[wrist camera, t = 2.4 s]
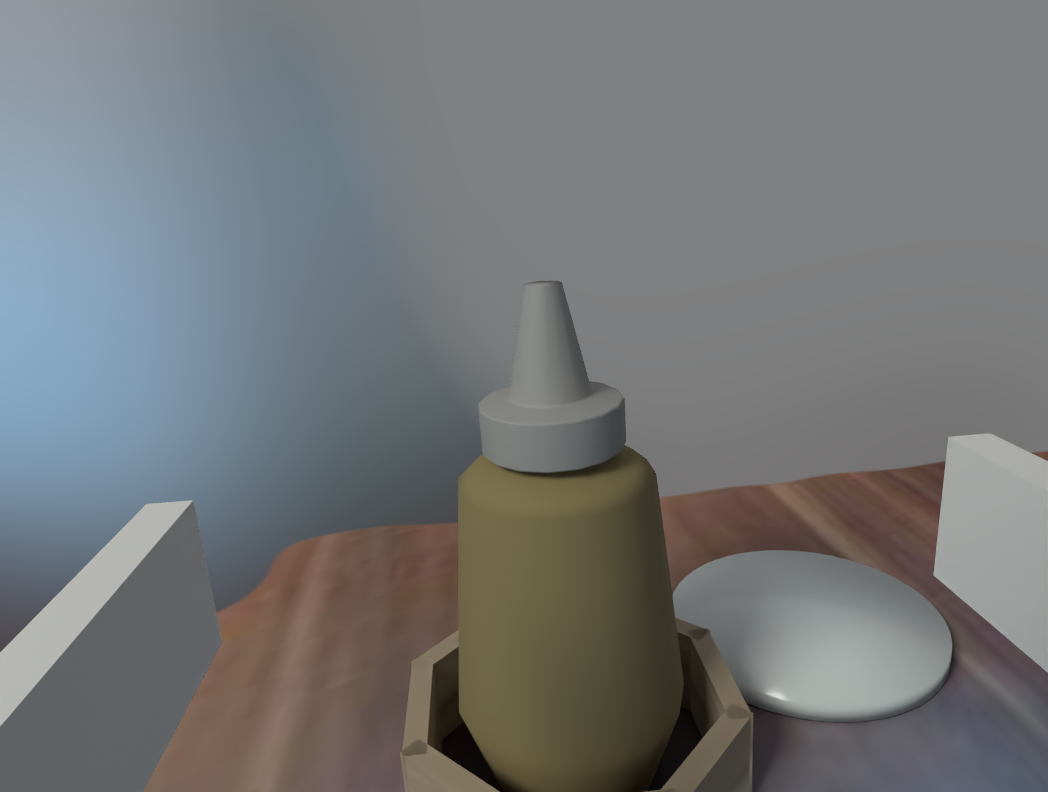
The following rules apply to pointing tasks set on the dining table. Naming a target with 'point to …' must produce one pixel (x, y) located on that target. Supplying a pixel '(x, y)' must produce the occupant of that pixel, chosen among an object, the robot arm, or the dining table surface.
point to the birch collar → (695, 788)
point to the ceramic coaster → (818, 634)
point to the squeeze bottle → (563, 578)
